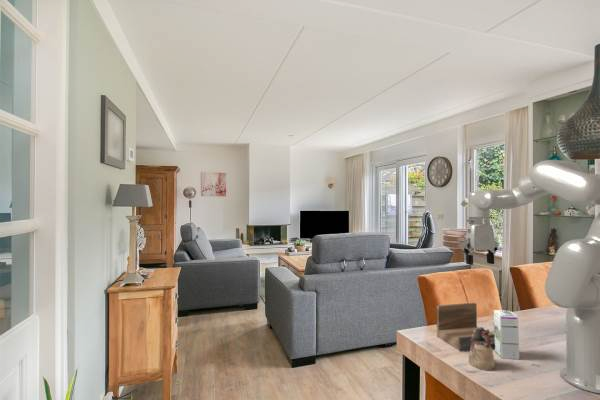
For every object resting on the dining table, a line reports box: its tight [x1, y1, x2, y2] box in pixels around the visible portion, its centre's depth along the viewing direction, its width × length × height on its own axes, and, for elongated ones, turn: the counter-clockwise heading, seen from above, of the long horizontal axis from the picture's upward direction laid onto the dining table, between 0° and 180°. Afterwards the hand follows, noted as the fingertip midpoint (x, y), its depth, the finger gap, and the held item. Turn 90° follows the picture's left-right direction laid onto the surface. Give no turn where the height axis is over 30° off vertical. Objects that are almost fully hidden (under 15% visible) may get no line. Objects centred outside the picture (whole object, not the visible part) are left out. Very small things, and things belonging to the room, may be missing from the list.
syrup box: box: [493, 309, 520, 360], centre depth 108 cm, size 6×6×14 cm
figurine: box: [468, 326, 496, 371], centre depth 101 cm, size 7×7×12 cm
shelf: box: [436, 302, 495, 352], centre depth 119 cm, size 13×17×12 cm
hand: (480, 264), depth 128 cm, fingers open, 9 cm apart
